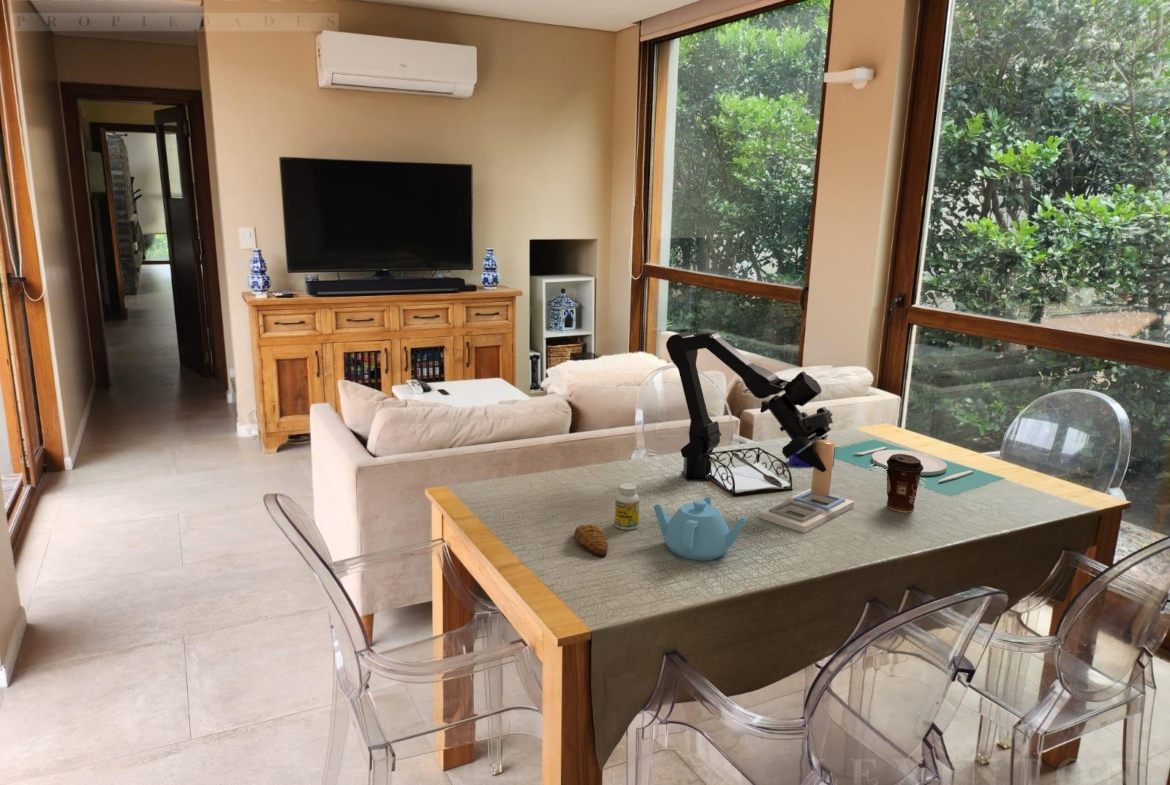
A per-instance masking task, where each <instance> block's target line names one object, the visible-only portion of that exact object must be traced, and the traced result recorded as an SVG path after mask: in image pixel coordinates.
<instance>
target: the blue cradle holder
mask: <svg viewBox="0 0 1170 785" xmlns="http://www.w3.org/2000/svg"><path fill="white" fill-rule="evenodd" d="M835 449H836V447H835V448H834V455H835ZM797 454H798V453H797V452H796V453H795V454H793V455H792V456H791V457H789V458H788V462H789V464H790V466H791V467H798V468H799V467H801V468H802V467H803V468H804V467H805V468H813V466H811V465H809V464H807V463H805V462H803V461H801V460H799V459H797V458H794V456H795V455H797ZM834 462H835V458H834V457H833V465H834V464H835V463H834Z"/></svg>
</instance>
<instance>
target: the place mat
mask: <svg viewBox="0 0 1170 785" xmlns="http://www.w3.org/2000/svg"><path fill="white" fill-rule="evenodd" d="M894 454H906V455H911V456H914V457H916V458H918V459H919V460H920V461H921V464H922V466H923V470H922V471H921V473H920V474H921V476H920V477H921V478H920V480H922V481H923V482H924V483H925V487H924V488H923V489H926V490H929V491H933V492H934V493H935V492H936V493H938V494H941V495H944V496H947V497H952V496H953V497H954V496H956V495H960V494H962V493H965V492H968V491H971V490H975V489H977V488H981V487H982V486H987V485H989V484H993V483H995V482H999V481H1001V480H1004V479H1006V477H1003V476H999V475H996V474H993V473H988V472H986V471H982V470H979V469H975V468H972V467H969V466H965V465H961V464H959V463H956V462H952V461H948V460H945V459H941V458H938V457H936V456H934V455H931V454H926V453H922V452H917V451H914V450H911V449H907V448H904V447H901V446H899V445H896V444H895V445H893V444H891V443H886V442H884V441H882V440H877V439H872V440H867V441H862V442H858V443H854V444H849V445H845V446H842V447H841V446H840V447H835V455H834V460H837V461H841V462H844V463H847V464H850V465H853V466H856V467H858V468H863V469H865V470H868V471H872V472H874V471H873V470H872V469H867V468H871V467H874V466H879V467H882V468H884V469H887V470H886V471H888V464H887V460H888V459H889V457H890V456H892V455H894ZM873 463H874V465H872V466H869V465H871V464H873ZM873 469H876V468H873ZM884 472H885V471H884ZM886 473H887V472H886ZM883 474H884V473H883ZM883 474H882V475H883ZM884 476H886V474H885V475H884ZM922 478H924V479H926V480H927V481H926V480H924V479H922ZM920 480H919V481H920ZM922 481H921V482H922ZM921 486H924V485H923V484H921V483H920V482H919V486H918V487H920V488H922V487H921Z"/></svg>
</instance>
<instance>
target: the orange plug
mask: <svg viewBox="0 0 1170 785" xmlns="http://www.w3.org/2000/svg"><path fill="white" fill-rule="evenodd" d="M835 445H836V442H835V441H833V440H828V439H826V440H817V441H816V452H817V453H818V455H819V457H820V459H821V460H822V462H823V464H824V465H825V467H826V471H824V472H821V471H820V470H818V469H816V468H814V467H812V475H811V476H812V478H811V485H810V486H811V487H810V488H811V493H812V494H814V495H817V496H828V495H829V494H831V493H830V492H831V483H832V481H831V480H832V472H833V467H834V464H833V457H834V448H835V449H836V446H835Z"/></svg>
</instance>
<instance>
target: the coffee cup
mask: <svg viewBox="0 0 1170 785" xmlns="http://www.w3.org/2000/svg"><path fill="white" fill-rule="evenodd" d="M887 464H888V471H887V476H886V495H887V501H886V507H887V508H889V509H890V510H891V511H895V512H898V513H905V514H906V513H912V512H913V511H914V509H915V501H916V497H917V492H918V487H919V486H918V484H919V480H920V476H921V474H920V473H921V471H922V470H923V466H922V464H921V461H920V460H919V459H918V458H916V457H914V456H911V455H906V454H894V455H892V456H890V457H889V459H888V460H887Z"/></svg>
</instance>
